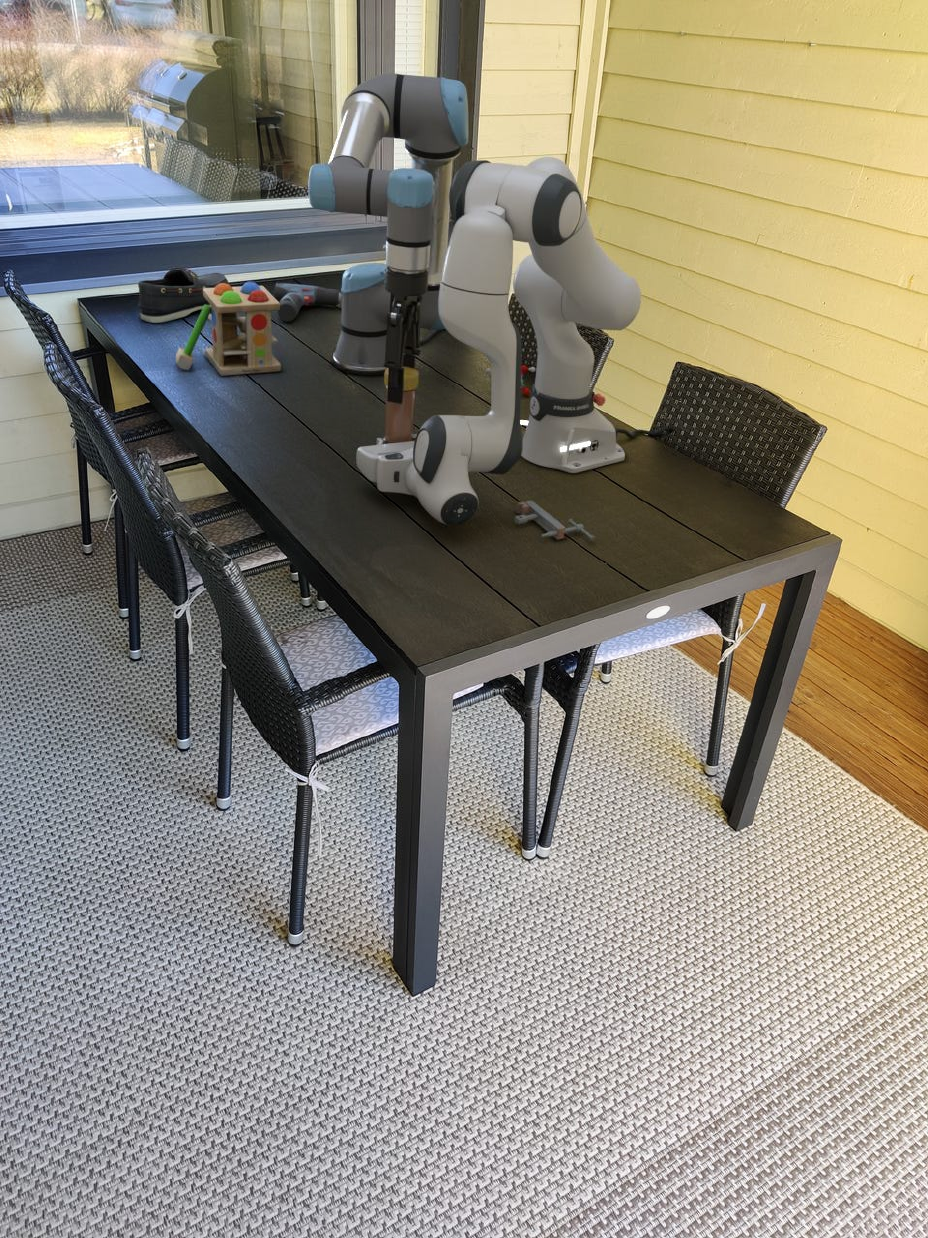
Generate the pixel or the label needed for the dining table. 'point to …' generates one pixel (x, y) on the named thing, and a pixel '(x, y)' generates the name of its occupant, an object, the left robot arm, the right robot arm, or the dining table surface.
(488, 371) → the molecular model
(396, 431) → the jar
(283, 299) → the power drill
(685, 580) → the dining table surface
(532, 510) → the clamp
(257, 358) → the pounding bench toy
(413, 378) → the lid
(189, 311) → the boat shoe
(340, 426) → the dining table surface
